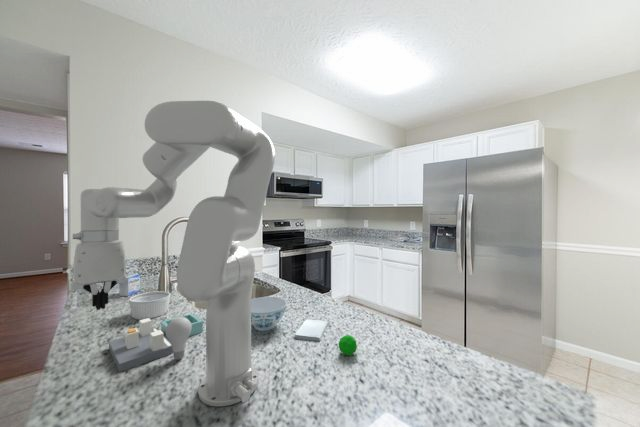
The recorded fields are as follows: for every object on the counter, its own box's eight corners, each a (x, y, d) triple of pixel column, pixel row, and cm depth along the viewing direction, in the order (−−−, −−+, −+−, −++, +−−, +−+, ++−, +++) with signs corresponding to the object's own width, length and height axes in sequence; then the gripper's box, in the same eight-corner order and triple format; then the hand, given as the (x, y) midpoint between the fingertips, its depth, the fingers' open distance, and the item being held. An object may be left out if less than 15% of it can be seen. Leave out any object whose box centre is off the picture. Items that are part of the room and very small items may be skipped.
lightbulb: (180, 367, 65) (180, 323, 65) (160, 364, 66) (159, 321, 66) (196, 354, 71) (196, 314, 71) (177, 351, 72) (177, 312, 72)
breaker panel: (173, 352, 72) (173, 331, 72) (119, 372, 63) (119, 347, 63) (156, 334, 83) (156, 315, 83) (108, 348, 74) (108, 327, 74)
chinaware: (254, 316, 97) (254, 295, 97) (292, 319, 94) (292, 298, 94) (233, 334, 83) (232, 310, 83) (277, 339, 80) (277, 314, 79)
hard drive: (319, 337, 78) (328, 320, 90) (294, 334, 80) (305, 318, 92) (319, 343, 78) (328, 325, 90) (294, 340, 80) (305, 323, 92)
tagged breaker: (138, 346, 72) (138, 330, 71) (127, 349, 70) (127, 333, 70) (136, 342, 74) (136, 326, 74) (125, 345, 72) (125, 329, 72)
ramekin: (173, 306, 108) (173, 289, 108) (165, 318, 95) (165, 299, 95) (136, 310, 103) (136, 292, 103) (122, 323, 91) (122, 303, 91)
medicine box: (128, 296, 120) (128, 277, 120) (118, 296, 120) (118, 277, 120) (140, 291, 128) (140, 273, 128) (131, 291, 128) (131, 273, 128)
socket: (202, 331, 84) (202, 321, 84) (170, 342, 77) (170, 330, 77) (191, 323, 91) (191, 313, 91) (161, 332, 84) (160, 321, 84)
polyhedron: (353, 348, 74) (353, 331, 74) (359, 357, 69) (359, 339, 69) (336, 349, 73) (336, 333, 73) (341, 359, 68) (341, 341, 68)
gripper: (59, 240, 59) (59, 321, 59) (138, 236, 70) (138, 304, 70) (58, 238, 64) (58, 311, 64) (132, 234, 75) (132, 297, 75)
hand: (100, 307), depth 67 cm, fingers closed
